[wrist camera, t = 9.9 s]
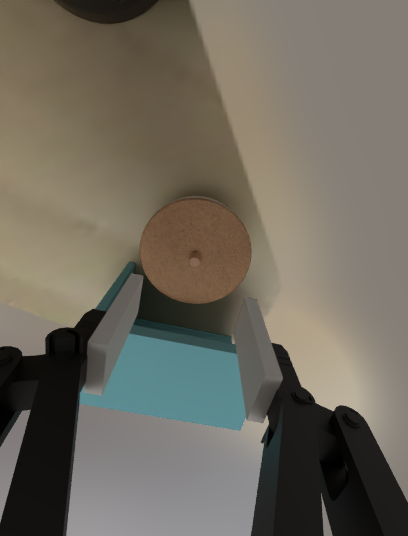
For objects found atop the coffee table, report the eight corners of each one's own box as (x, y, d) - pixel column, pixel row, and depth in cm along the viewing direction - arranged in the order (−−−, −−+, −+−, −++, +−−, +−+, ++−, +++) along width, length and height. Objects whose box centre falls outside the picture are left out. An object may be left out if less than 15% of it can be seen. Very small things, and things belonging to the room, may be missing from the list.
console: (129, 261, 34) (83, 324, 22) (247, 286, 36) (269, 360, 23) (121, 320, 38) (78, 403, 25) (229, 341, 39) (240, 430, 26)
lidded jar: (233, 178, 30) (244, 189, 22) (248, 265, 34) (262, 302, 26) (142, 199, 31) (117, 217, 23) (167, 280, 35) (154, 322, 27)
